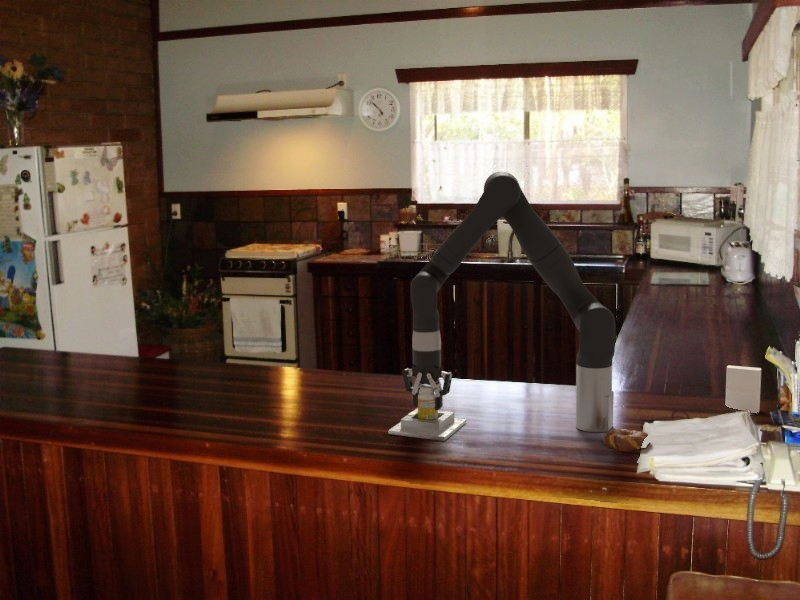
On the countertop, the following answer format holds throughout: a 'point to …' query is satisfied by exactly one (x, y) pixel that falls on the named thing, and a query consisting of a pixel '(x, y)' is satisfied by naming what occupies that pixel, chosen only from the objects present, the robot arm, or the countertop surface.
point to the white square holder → (428, 426)
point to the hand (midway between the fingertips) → (427, 408)
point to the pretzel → (624, 439)
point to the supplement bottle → (427, 403)
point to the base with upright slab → (743, 388)
